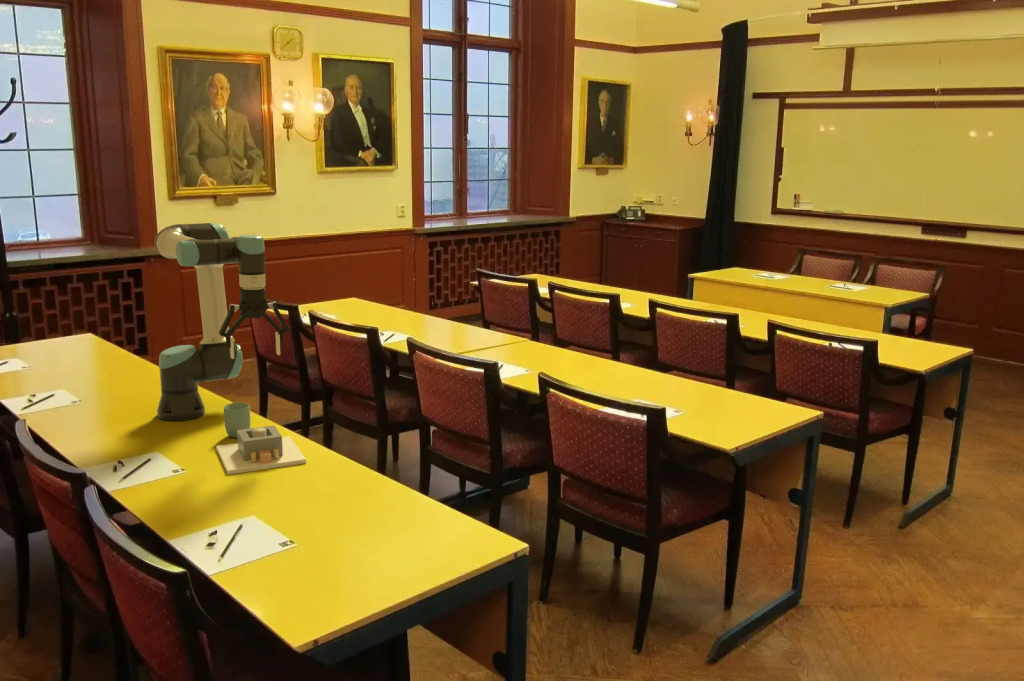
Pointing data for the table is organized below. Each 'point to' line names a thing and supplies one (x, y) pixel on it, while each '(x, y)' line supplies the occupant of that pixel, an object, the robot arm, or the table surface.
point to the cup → (236, 418)
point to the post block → (238, 465)
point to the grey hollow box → (259, 444)
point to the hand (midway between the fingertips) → (255, 356)
